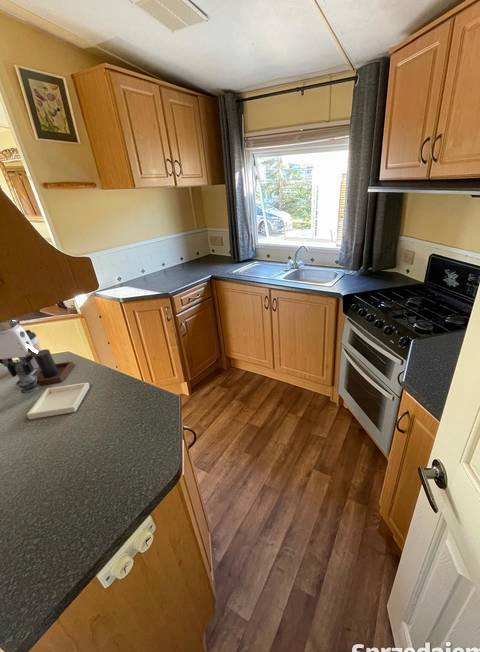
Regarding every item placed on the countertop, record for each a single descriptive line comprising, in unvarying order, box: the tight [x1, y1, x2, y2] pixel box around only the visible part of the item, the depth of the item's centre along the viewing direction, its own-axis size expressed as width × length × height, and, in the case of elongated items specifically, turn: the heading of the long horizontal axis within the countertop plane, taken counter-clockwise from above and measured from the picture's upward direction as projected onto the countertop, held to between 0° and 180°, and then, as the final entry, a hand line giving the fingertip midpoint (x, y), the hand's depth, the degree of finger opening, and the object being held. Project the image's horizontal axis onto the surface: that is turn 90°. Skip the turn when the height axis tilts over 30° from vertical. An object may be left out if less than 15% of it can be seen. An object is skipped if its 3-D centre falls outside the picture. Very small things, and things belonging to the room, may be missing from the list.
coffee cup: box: [18, 329, 42, 370], centre depth 119 cm, size 9×9×15 cm
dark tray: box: [31, 361, 74, 386], centre depth 114 cm, size 12×12×2 cm
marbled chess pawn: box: [14, 359, 41, 395], centre depth 100 cm, size 6×6×12 cm
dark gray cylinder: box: [34, 348, 59, 378], centre depth 112 cm, size 5×5×10 cm
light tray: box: [26, 382, 91, 420], centre depth 99 cm, size 14×14×2 cm
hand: (23, 373), depth 99 cm, fingers closed on marbled chess pawn, 3 cm apart
